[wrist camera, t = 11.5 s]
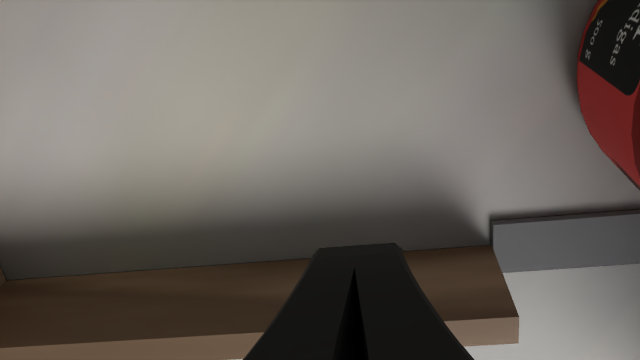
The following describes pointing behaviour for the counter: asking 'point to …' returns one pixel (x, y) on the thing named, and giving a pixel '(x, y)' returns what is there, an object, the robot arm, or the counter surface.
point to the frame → (567, 241)
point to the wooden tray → (222, 308)
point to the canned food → (613, 82)
